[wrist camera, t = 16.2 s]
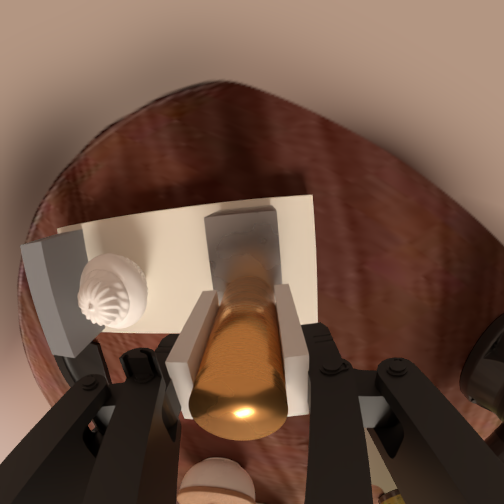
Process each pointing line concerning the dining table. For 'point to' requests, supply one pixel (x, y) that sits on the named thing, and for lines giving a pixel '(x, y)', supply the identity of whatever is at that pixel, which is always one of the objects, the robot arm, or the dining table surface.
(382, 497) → the sauce bottle
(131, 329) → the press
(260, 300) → the ram
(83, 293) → the white steamed bun
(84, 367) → the curved wedge
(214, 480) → the lidded jar
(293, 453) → the dining table surface
